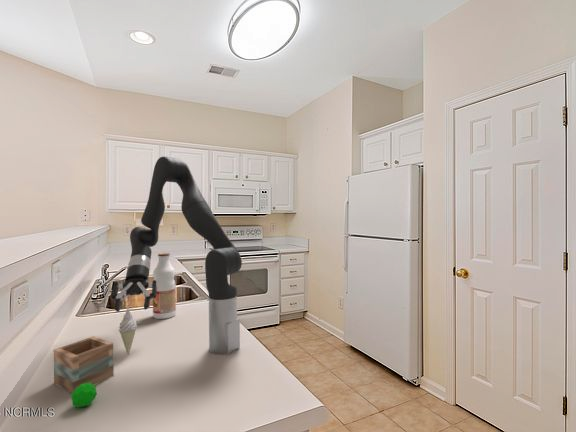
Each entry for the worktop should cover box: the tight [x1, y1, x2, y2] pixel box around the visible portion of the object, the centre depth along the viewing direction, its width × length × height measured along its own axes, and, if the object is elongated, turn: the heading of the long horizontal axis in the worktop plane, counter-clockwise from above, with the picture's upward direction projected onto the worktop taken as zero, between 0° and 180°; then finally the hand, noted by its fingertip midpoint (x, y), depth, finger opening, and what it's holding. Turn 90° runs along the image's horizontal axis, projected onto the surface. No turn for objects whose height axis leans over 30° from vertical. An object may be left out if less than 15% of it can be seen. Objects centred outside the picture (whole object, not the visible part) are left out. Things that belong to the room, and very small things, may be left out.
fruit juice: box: [152, 252, 177, 320], centre depth 135 cm, size 9×9×28 cm
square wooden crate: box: [53, 336, 115, 394], centre depth 82 cm, size 10×10×9 cm
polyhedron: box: [70, 383, 98, 408], centre depth 71 cm, size 5×5×5 cm
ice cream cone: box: [118, 307, 138, 355], centre depth 97 cm, size 5×5×15 cm
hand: (131, 309), depth 101 cm, fingers open, 8 cm apart
